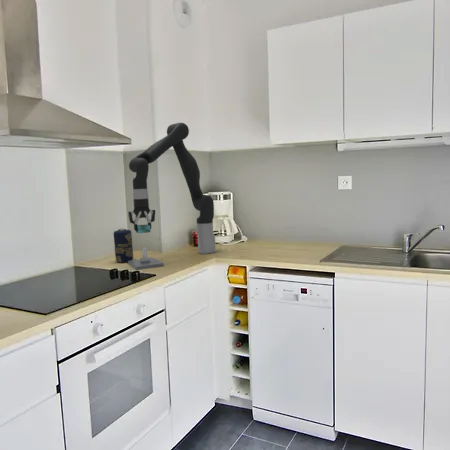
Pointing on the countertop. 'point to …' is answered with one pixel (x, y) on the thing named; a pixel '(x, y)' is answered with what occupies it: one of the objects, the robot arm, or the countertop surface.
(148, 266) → the shaft stand
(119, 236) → the canister
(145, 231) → the collar
